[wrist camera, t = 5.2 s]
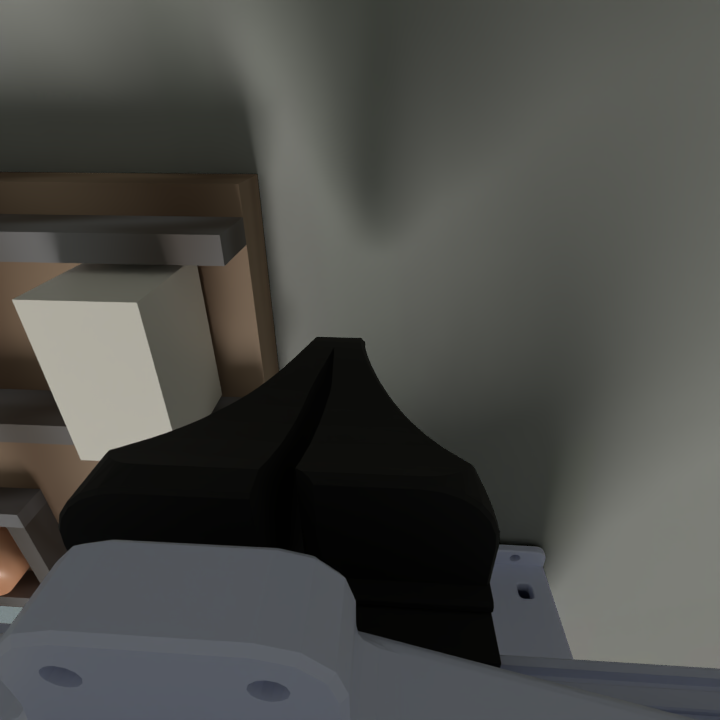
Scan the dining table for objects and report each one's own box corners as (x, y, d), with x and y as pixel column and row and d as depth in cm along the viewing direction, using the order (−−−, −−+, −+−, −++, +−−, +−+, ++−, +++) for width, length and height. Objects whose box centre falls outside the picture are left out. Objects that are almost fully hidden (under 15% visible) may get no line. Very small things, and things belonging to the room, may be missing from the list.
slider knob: (195, 256, 13) (136, 302, 10) (222, 394, 16) (182, 464, 13) (97, 254, 13) (12, 299, 10) (139, 391, 16) (81, 460, 13)
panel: (257, 174, 14) (213, 197, 11) (300, 566, 24) (285, 643, 21) (-292, 169, 15) (-496, 189, 12) (-29, 548, 25) (-96, 619, 22)
